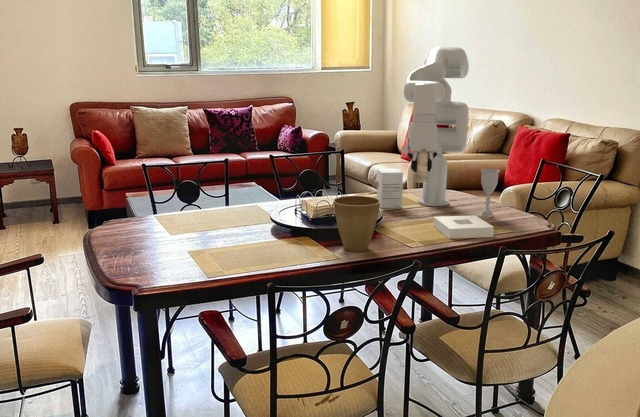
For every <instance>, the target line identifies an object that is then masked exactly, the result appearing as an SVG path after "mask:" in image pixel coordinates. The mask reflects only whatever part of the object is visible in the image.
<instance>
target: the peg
mask: <svg viewBox="0 0 640 417" xmlns="http://www.w3.org/2000/svg"><path fill="white" fill-rule="evenodd" d="M416 161H417V171H416V172H414V180H413V181H414V182H415V183H418V184H420V183H421V184H423V183H425V182H427V170H428V152H427V151H426V149H422V151H421V152H417V156H416Z"/></svg>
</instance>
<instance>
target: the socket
mask: <svg viewBox="0 0 640 417" xmlns="http://www.w3.org/2000/svg"><path fill="white" fill-rule="evenodd" d="M433 227H434V229H435V228H436V230H437V231H439V232H440V233H441V234H443V235H444V236H445V237H446V238H448V239H449V240H453V239H470V238H471V239H472V238H473V239H475V238H477V239H478V238H494V231H495V227H494V226H493V225H491V224H490V223H489V222H486V221H485V220H483V219H482V218H480V217H478V216H477V215H474V214H473V215H450V216H448V215H447V216H444V215H443V216H433Z"/></svg>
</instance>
